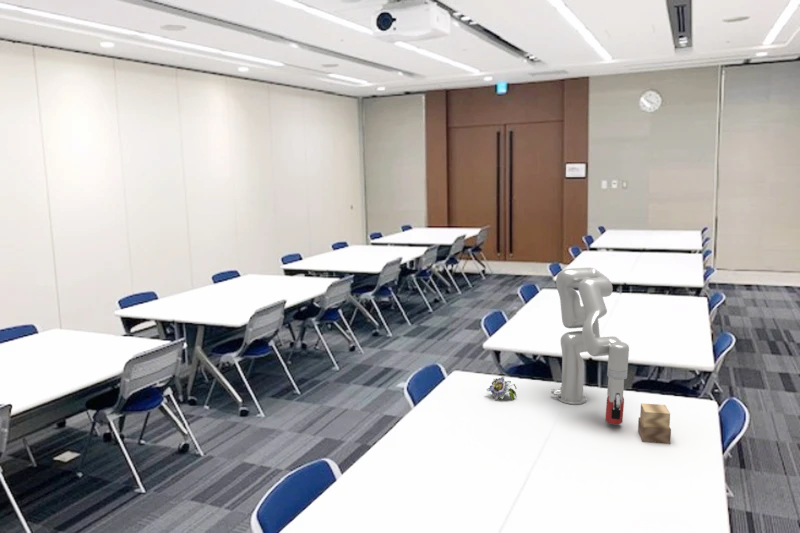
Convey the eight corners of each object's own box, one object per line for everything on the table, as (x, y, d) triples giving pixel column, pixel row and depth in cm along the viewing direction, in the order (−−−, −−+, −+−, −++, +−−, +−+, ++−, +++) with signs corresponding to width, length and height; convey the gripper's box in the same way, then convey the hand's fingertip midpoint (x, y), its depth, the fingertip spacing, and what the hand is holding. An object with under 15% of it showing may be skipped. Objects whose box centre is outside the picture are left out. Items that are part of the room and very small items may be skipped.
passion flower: (496, 411, 284) (481, 389, 284) (505, 399, 293) (490, 378, 293) (515, 402, 277) (499, 380, 278) (523, 390, 286) (508, 369, 286)
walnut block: (642, 442, 238) (643, 427, 237) (637, 431, 248) (638, 417, 247) (670, 444, 236) (671, 429, 235) (664, 433, 246) (665, 419, 245)
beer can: (618, 418, 256) (620, 390, 254) (624, 425, 250) (627, 397, 247) (602, 418, 256) (604, 391, 254) (608, 425, 249) (610, 397, 247)
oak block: (644, 426, 238) (645, 412, 237) (640, 417, 246) (640, 403, 245) (669, 428, 236) (670, 413, 235) (664, 419, 245) (665, 404, 244)
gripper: (604, 365, 258) (602, 405, 261) (610, 379, 241) (607, 423, 245) (623, 366, 257) (620, 407, 260) (630, 381, 240) (627, 424, 243)
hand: (614, 414), depth 252 cm, fingers closed on beer can, 6 cm apart
